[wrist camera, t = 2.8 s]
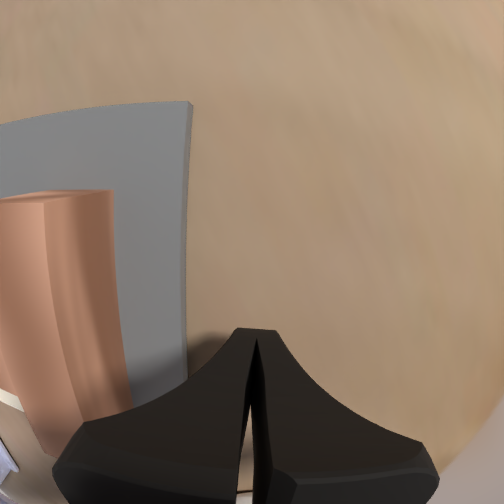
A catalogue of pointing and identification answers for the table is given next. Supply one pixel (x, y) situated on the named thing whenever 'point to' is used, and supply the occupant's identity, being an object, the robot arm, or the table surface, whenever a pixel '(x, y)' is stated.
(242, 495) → the supplement tub
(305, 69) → the table surface
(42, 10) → the table surface
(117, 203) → the board
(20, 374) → the t block
